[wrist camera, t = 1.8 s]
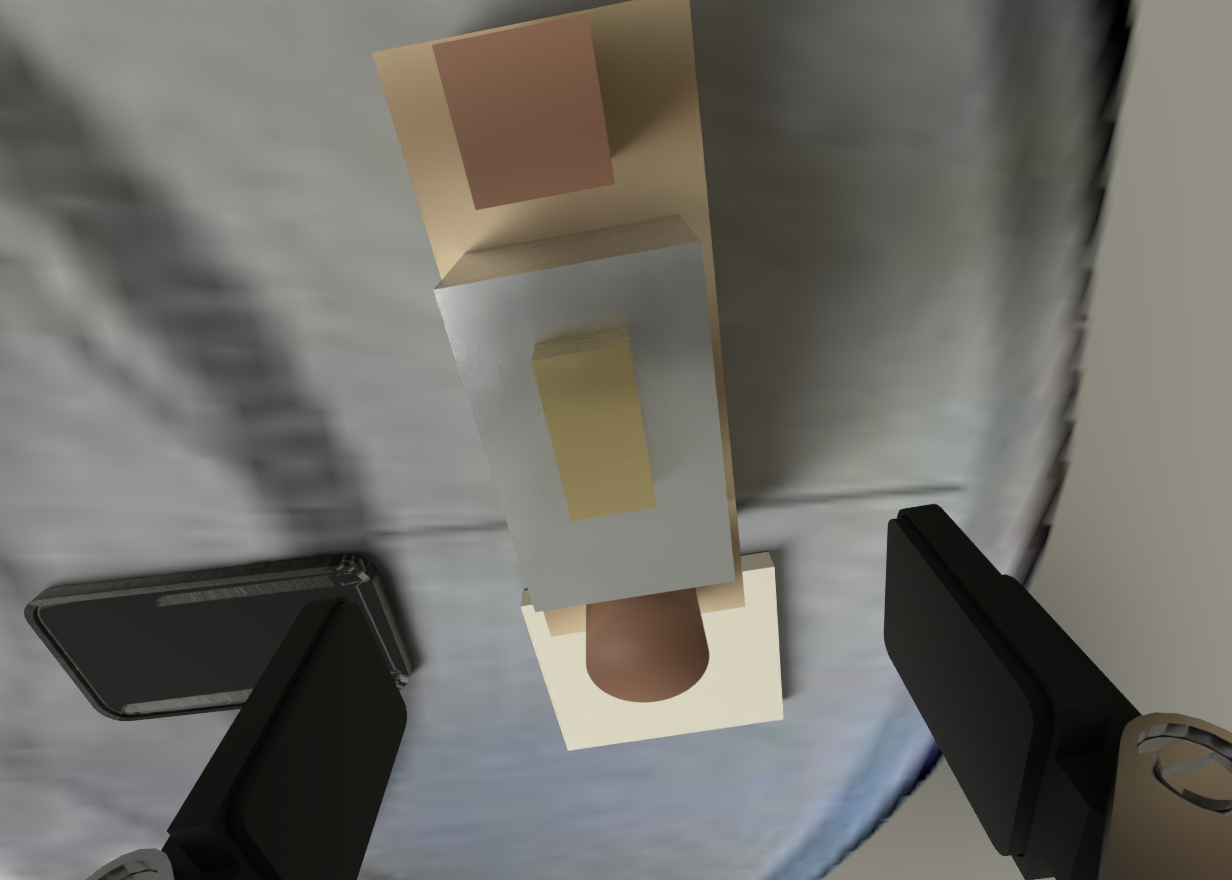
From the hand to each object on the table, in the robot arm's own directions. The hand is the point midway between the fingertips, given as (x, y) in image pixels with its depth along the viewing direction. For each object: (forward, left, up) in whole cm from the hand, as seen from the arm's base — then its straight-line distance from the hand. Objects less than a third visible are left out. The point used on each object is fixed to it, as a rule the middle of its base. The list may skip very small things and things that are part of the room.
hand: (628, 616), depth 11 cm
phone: (+10, -19, -14) cm, 26 cm away
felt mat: (+15, 0, -13) cm, 20 cm away
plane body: (-1, 0, -13) cm, 13 cm away
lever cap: (-1, 0, -8) cm, 8 cm away
